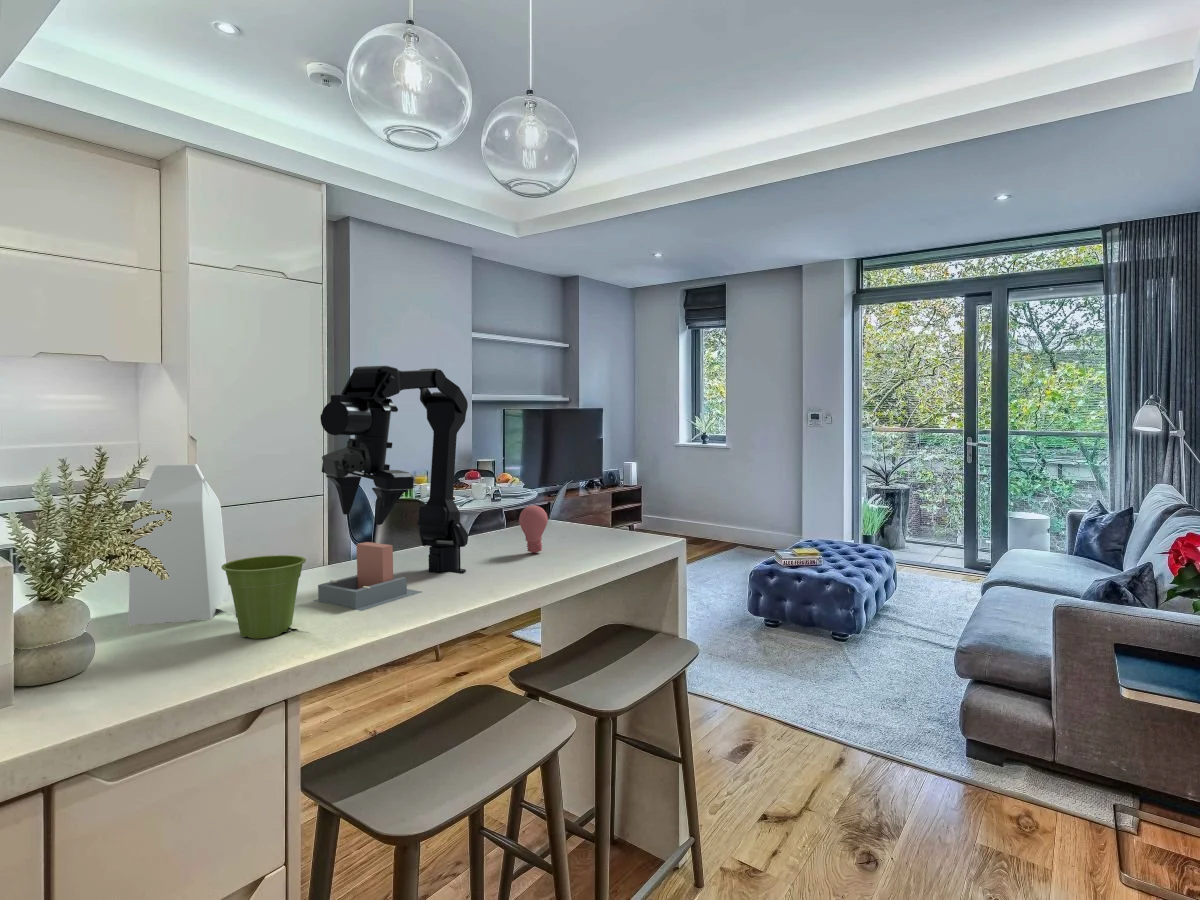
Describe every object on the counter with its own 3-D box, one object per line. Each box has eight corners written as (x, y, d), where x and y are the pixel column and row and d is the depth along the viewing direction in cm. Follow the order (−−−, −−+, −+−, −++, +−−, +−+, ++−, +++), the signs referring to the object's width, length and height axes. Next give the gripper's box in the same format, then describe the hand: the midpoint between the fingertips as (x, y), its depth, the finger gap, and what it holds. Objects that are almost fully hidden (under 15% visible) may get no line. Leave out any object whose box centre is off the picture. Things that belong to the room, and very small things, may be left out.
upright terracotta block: (371, 587, 125) (370, 541, 125) (397, 592, 122) (396, 544, 121) (357, 591, 122) (356, 544, 122) (383, 596, 119) (382, 547, 118)
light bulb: (517, 551, 165) (516, 504, 165) (544, 549, 167) (544, 503, 167) (522, 556, 159) (521, 507, 158) (550, 554, 161) (550, 506, 160)
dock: (375, 588, 130) (374, 567, 130) (422, 596, 123) (422, 574, 123) (313, 605, 118) (312, 582, 117) (361, 616, 111) (361, 592, 111)
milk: (128, 625, 107) (122, 467, 106) (155, 606, 118) (150, 463, 117) (210, 619, 110) (205, 466, 109) (229, 601, 121) (225, 461, 120)
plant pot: (320, 630, 104) (319, 560, 103) (240, 650, 95) (238, 574, 94) (289, 616, 112) (287, 551, 111) (212, 633, 103) (210, 562, 102)
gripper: (299, 426, 116) (290, 512, 117) (369, 441, 107) (359, 534, 108) (352, 428, 126) (343, 508, 127) (420, 442, 116) (410, 528, 117)
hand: (362, 519), depth 119 cm, fingers open, 9 cm apart
